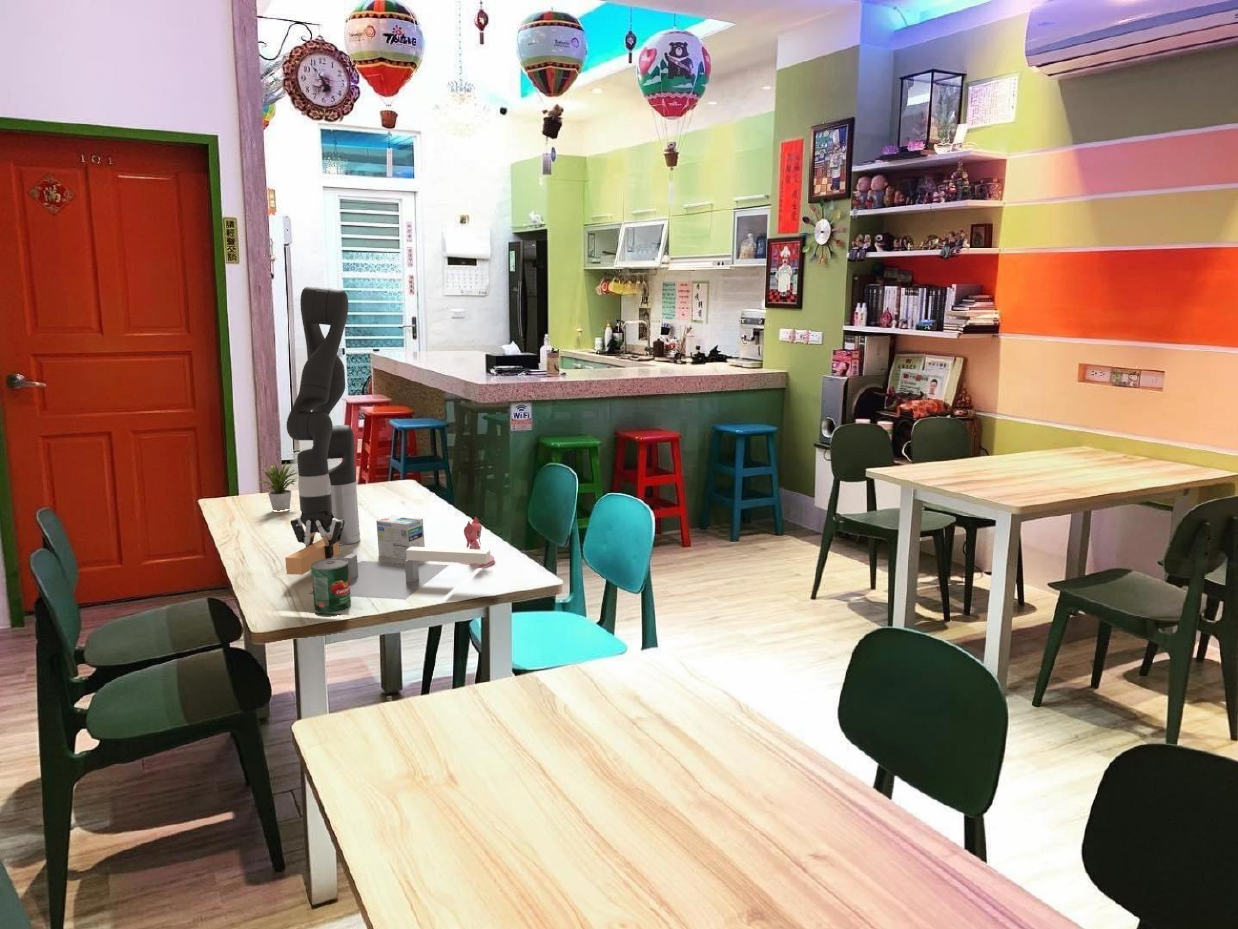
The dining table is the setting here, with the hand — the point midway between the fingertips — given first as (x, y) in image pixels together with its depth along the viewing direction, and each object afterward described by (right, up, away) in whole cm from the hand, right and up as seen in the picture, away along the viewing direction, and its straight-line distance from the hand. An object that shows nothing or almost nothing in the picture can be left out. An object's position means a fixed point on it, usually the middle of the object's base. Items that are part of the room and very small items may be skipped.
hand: (320, 558), depth 224 cm
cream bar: (+34, +1, -10) cm, 35 cm away
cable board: (+17, -5, -6) cm, 18 cm away
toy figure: (+37, -2, +9) cm, 39 cm away
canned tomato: (+11, -9, -24) cm, 28 cm away
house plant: (-35, +8, +68) cm, 77 cm away
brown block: (-1, -1, -3) cm, 3 cm away
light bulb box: (+17, -2, +15) cm, 22 cm away
